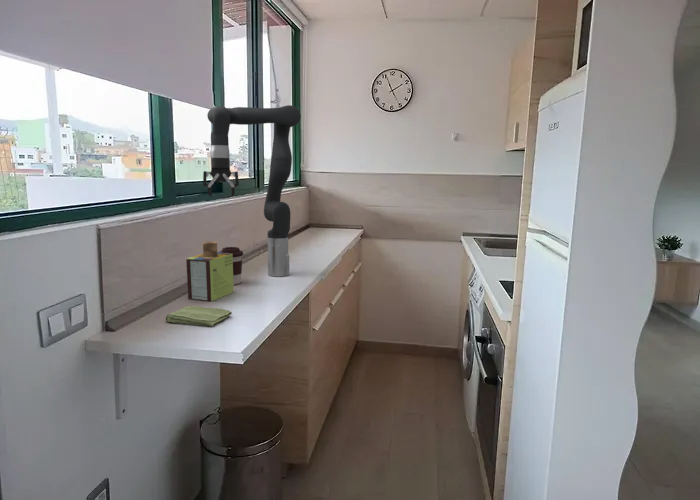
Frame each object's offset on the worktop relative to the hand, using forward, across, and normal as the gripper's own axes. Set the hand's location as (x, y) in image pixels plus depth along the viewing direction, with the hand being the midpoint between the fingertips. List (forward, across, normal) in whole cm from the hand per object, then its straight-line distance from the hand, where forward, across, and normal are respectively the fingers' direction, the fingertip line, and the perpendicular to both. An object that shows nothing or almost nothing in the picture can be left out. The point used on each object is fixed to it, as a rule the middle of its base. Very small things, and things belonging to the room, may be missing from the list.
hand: (221, 196), depth 207 cm
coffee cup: (+36, -3, +4) cm, 37 cm away
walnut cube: (+21, +5, +22) cm, 31 cm away
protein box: (+36, +5, +22) cm, 43 cm away
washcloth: (+37, +9, +52) cm, 64 cm away
